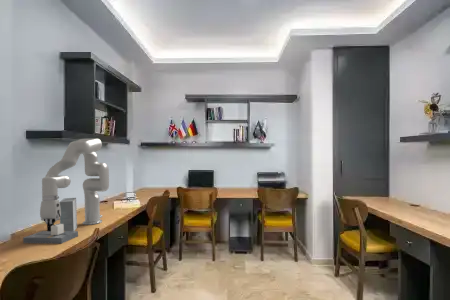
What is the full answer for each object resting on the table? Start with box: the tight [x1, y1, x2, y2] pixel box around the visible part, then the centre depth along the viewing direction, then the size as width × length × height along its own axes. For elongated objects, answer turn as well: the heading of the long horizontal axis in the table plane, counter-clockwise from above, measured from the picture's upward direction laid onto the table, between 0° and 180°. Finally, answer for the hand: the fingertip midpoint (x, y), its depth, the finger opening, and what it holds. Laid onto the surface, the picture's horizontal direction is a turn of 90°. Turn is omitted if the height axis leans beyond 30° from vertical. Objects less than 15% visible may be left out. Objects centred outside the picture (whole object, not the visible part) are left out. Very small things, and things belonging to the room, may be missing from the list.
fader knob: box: [51, 222, 64, 235], centre depth 163 cm, size 5×4×5 cm
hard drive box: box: [59, 197, 78, 231], centre depth 183 cm, size 16×8×20 cm, turn 21°
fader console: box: [22, 230, 79, 244], centre depth 163 cm, size 14×23×3 cm, turn 83°
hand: (50, 230), depth 163 cm, fingers closed
